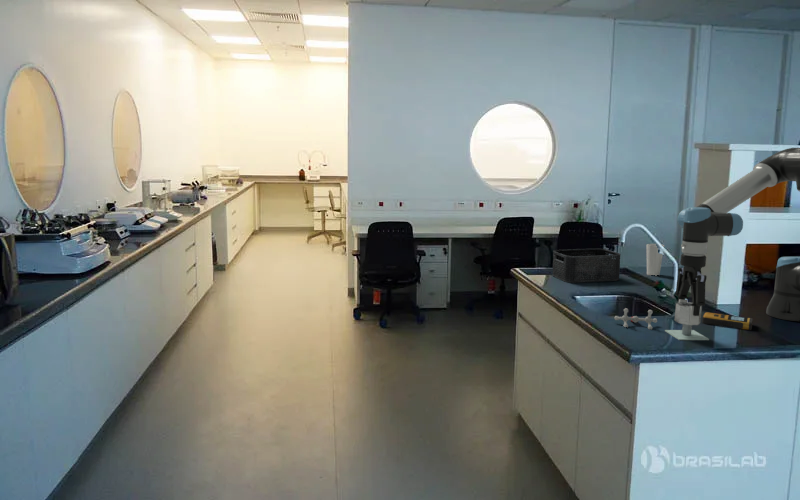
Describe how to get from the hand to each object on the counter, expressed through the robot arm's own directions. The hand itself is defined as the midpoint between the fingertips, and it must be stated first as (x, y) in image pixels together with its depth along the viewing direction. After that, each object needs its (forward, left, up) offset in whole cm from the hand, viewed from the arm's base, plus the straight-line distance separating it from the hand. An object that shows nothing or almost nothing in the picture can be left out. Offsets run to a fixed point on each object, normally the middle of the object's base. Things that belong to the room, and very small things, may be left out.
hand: (687, 321), depth 196 cm
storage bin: (+3, -94, -5) cm, 94 cm away
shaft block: (0, 0, -5) cm, 5 cm away
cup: (-35, -102, -5) cm, 108 cm away
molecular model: (+12, -12, -5) cm, 18 cm away
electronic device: (-22, -14, -6) cm, 26 cm away
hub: (0, 0, 0) cm, 0 cm away
